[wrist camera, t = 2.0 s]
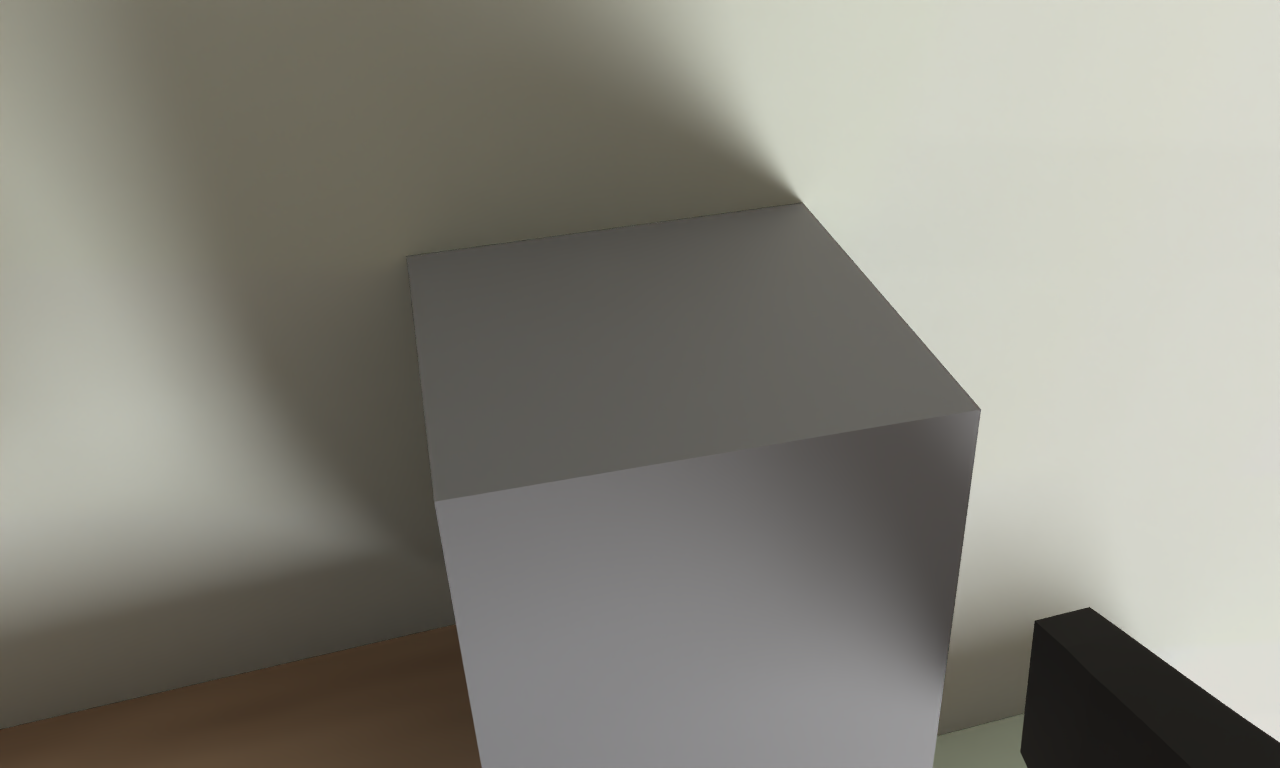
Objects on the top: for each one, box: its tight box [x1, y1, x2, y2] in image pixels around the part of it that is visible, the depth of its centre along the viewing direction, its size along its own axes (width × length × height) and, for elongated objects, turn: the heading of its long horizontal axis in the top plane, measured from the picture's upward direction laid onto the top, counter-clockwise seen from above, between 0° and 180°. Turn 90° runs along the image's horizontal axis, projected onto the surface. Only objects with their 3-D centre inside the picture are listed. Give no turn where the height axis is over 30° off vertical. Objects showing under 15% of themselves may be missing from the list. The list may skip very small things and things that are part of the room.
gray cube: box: [407, 203, 981, 768], centre depth 14 cm, size 5×5×5 cm
